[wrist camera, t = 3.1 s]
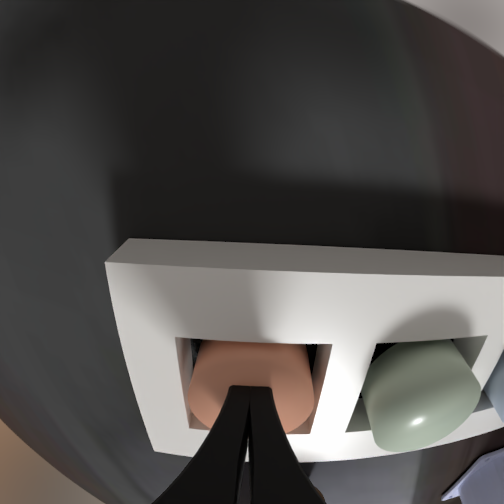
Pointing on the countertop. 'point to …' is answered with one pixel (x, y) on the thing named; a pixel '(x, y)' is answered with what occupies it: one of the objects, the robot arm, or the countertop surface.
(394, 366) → the sage button
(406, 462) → the countertop surface
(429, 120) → the countertop surface
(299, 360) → the terracotta button
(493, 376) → the slate button
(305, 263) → the button panel
